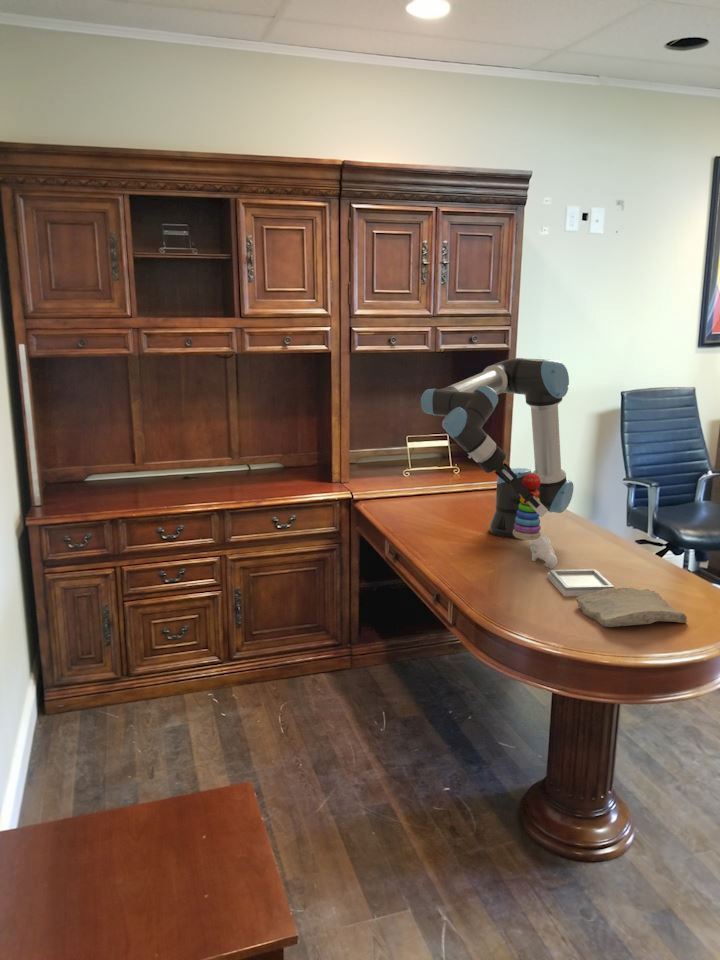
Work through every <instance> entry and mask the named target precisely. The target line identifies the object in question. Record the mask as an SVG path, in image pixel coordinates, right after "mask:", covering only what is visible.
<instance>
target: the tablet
mask: <svg viewBox="0 0 720 960" xmlns="http://www.w3.org/2000/svg"><path fill="white" fill-rule="evenodd" d="M575 599H576V603H577V607H578V608H579V609H581V611H582V613H583V615H585V616H587V617H588V618H591V619H593V620H595V621H596V622H598V623H599V624H600V625H601V626H602V627H605V628H618V627H625V626H626V627H627V626H628V627H629V626H639V625H651V624H653V623H655V622H667V623H668V622H669V623H671V622H672V623H680V624H686V623H687V621H688V620H687V619H688V618H687V615H686V614H685V613H684V612H683V611H681V612H680V611H678V610H677V609H675V608H674V607H672V606H671V605H669V603H668V602H667V601H666V600H664V599H663V598H662V596H661V595H660V593H659V592H656V591H655V590H650V589H637V588H633V587H618V588H616V587H614V588H609V589H603V590H600V591H597V592H594V593H590V594H586V595H582V596H576V598H575Z"/></svg>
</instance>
